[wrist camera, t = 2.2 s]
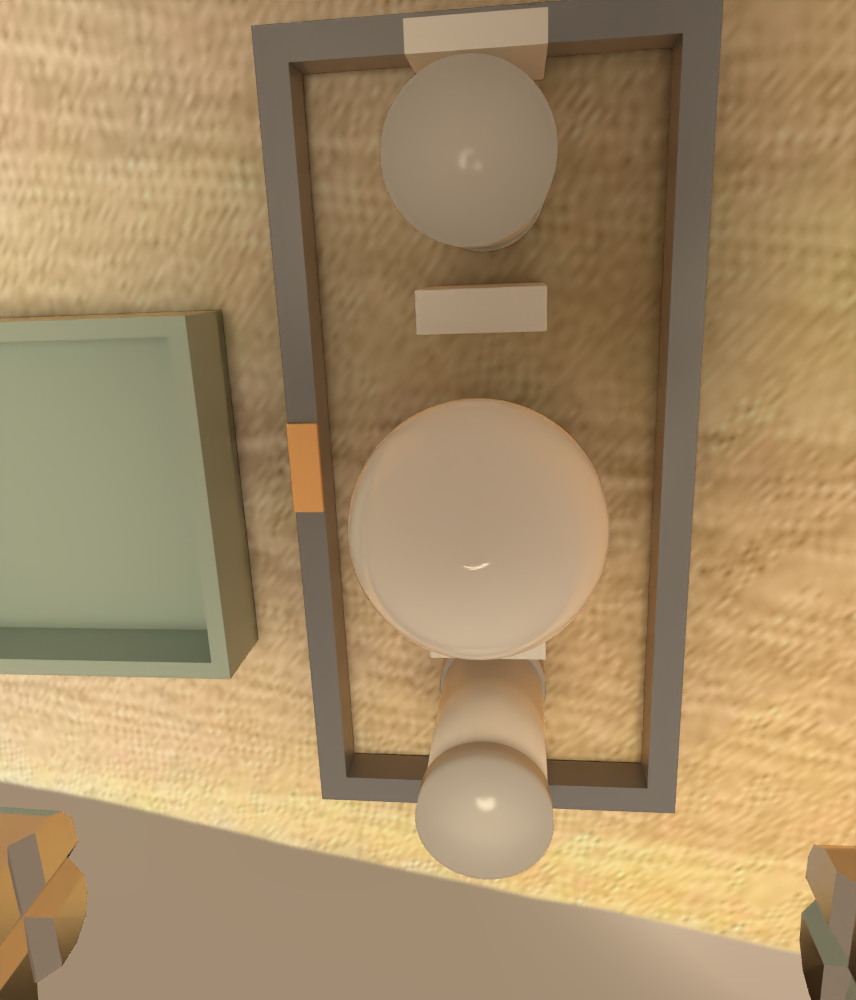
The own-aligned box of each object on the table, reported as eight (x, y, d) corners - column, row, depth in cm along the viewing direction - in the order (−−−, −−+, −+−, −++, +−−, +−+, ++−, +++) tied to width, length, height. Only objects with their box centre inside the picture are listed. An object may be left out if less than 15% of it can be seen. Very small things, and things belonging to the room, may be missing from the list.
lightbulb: (622, 466, 26) (690, 601, 16) (477, 576, 28) (452, 762, 18) (502, 320, 25) (488, 359, 15) (359, 442, 27) (258, 555, 17)
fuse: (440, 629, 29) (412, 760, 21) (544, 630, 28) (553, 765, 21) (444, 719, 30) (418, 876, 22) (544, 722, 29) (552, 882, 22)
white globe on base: (421, 124, 24) (374, 60, 16) (546, 116, 24) (558, 46, 16) (426, 254, 25) (384, 250, 17) (546, 249, 25) (557, 242, 17)
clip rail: (267, 39, 24) (219, -3, 20) (710, 5, 22) (750, -49, 18) (331, 774, 31) (305, 845, 27) (667, 786, 30) (689, 864, 26)
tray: (-110, 322, 28) (-182, 328, 25) (221, 310, 26) (184, 315, 23) (-38, 634, 31) (-94, 671, 28) (258, 639, 30) (230, 679, 27)
